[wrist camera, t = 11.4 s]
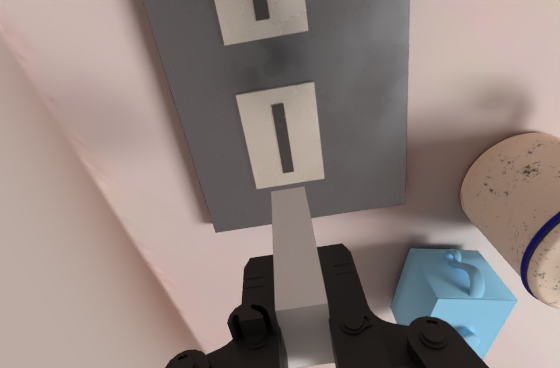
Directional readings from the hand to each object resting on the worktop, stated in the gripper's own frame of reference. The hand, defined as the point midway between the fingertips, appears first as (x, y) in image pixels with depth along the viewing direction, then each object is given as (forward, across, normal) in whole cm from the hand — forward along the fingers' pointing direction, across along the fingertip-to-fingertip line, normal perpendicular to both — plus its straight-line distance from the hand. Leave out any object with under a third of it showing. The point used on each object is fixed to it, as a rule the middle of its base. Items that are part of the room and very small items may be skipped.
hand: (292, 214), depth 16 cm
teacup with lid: (+11, +18, -6) cm, 22 cm away
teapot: (+11, +11, -17) cm, 23 cm away
